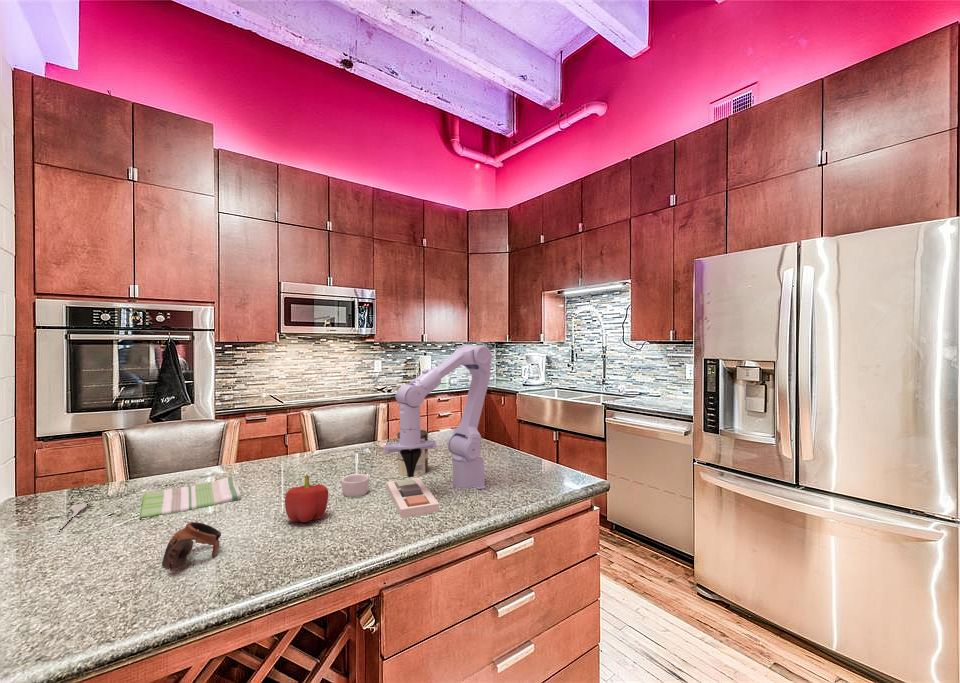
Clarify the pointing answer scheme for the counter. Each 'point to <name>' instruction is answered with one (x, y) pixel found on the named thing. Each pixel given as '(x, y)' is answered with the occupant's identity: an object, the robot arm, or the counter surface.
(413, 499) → the key terracotta
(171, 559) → the brown curved piece
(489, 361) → the robot arm
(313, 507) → the vegetable
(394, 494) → the pink tray
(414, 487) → the key charcoal
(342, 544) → the counter surface
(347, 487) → the teacup
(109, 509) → the counter surface
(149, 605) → the counter surface
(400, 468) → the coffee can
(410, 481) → the key sage
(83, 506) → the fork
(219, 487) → the dish towel
